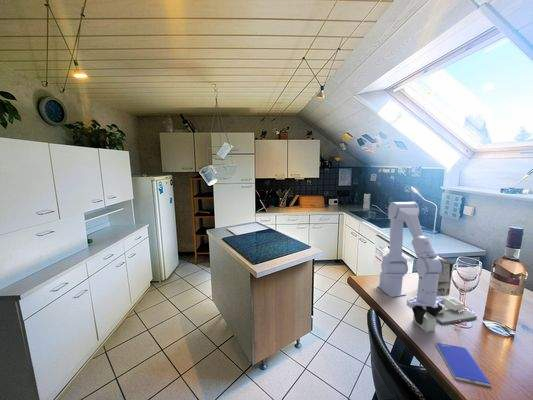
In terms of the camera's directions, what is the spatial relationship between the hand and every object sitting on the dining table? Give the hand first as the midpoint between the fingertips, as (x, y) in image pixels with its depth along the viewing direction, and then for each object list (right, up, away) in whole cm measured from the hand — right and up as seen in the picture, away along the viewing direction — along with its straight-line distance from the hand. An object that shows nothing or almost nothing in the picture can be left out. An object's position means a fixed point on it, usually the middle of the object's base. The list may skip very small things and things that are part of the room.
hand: (423, 322), depth 83 cm
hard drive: (0, -5, -16) cm, 16 cm away
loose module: (0, -2, 0) cm, 2 cm away
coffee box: (+21, +2, +22) cm, 31 cm away
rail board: (+14, 0, +9) cm, 16 cm away
